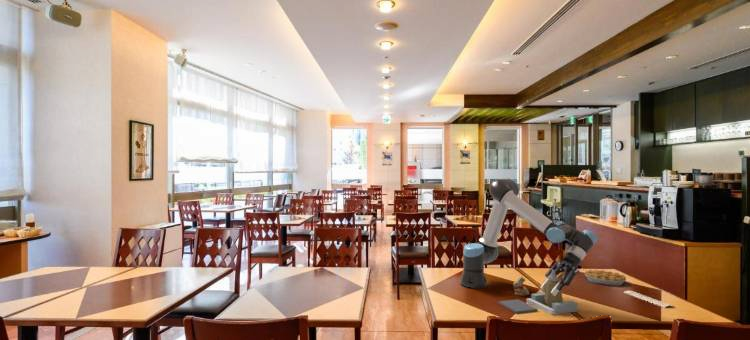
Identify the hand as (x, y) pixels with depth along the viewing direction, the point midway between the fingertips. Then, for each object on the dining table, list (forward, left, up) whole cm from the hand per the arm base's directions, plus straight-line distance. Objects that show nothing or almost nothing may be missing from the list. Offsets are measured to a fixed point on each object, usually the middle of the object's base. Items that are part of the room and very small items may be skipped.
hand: (547, 291), depth 178 cm
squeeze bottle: (0, +4, -8) cm, 8 cm away
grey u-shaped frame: (0, +2, -7) cm, 8 cm away
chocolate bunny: (-20, +1, -8) cm, 21 cm away
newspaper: (+5, +60, -8) cm, 60 cm away
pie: (-28, +68, -8) cm, 74 cm away
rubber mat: (-4, -14, -8) cm, 17 cm away
